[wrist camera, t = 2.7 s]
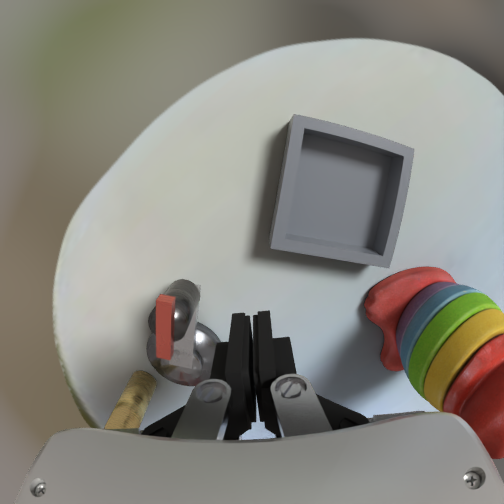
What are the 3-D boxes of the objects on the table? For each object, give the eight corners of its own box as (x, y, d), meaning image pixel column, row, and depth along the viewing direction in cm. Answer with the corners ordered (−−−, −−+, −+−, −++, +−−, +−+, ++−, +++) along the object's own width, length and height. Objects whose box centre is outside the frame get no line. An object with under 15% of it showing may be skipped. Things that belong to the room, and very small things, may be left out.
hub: (220, 383, 25) (218, 391, 24) (152, 369, 25) (148, 376, 24) (228, 326, 23) (227, 333, 22) (150, 311, 23) (145, 317, 22)
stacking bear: (357, 292, 22) (474, 468, 5) (446, 240, 21) (598, 328, 4) (383, 372, 25) (450, 509, 8) (458, 325, 23) (552, 426, 6)
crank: (201, 377, 23) (189, 428, 17) (164, 369, 23) (144, 417, 17) (213, 268, 20) (196, 308, 14) (166, 260, 20) (133, 295, 14)
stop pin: (157, 392, 26) (135, 447, 18) (133, 386, 26) (107, 438, 18) (155, 374, 25) (131, 431, 17) (131, 367, 25) (101, 421, 17)
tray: (375, 257, 21) (388, 268, 19) (268, 239, 21) (270, 248, 18) (398, 150, 19) (414, 148, 16) (289, 121, 18) (294, 114, 16)
